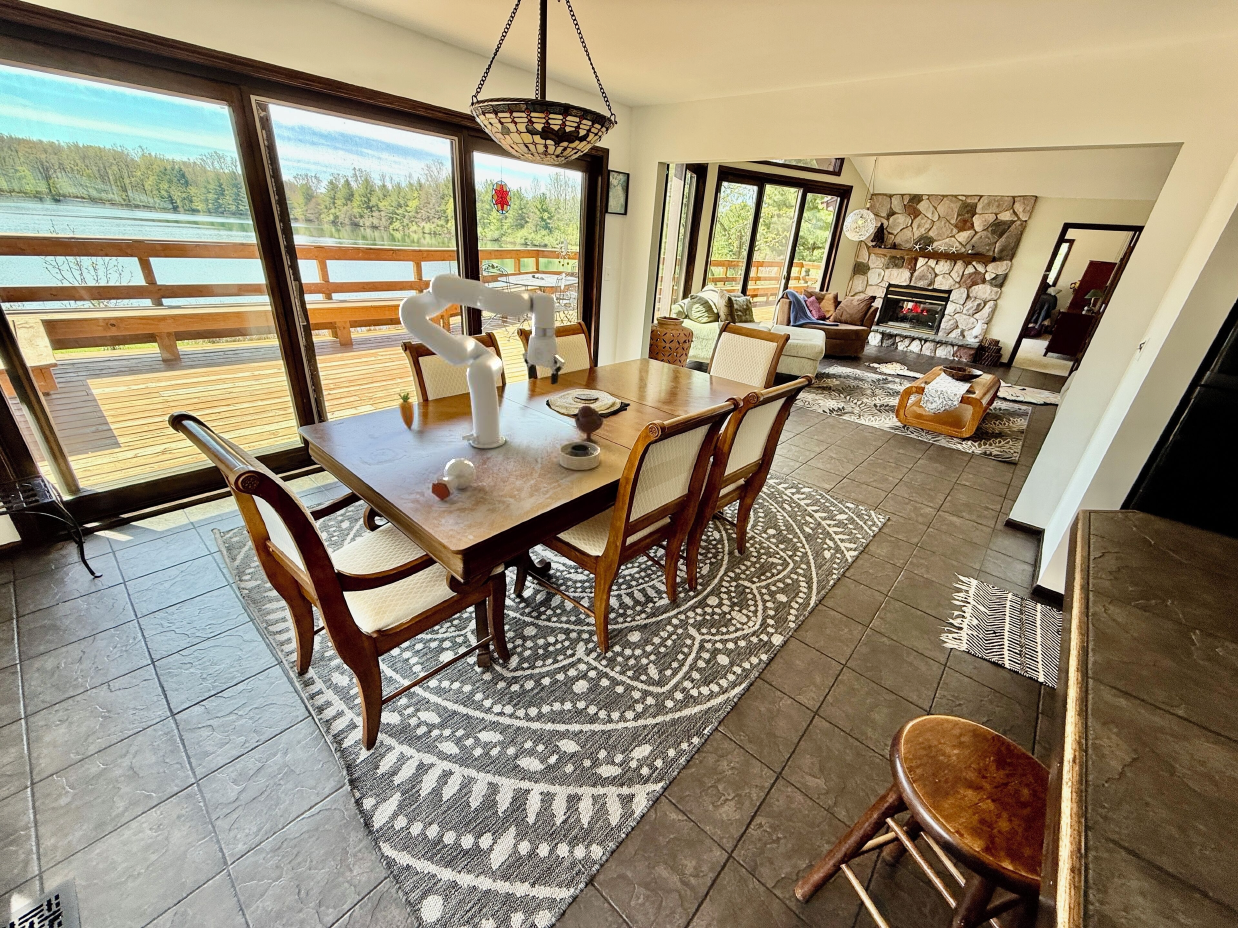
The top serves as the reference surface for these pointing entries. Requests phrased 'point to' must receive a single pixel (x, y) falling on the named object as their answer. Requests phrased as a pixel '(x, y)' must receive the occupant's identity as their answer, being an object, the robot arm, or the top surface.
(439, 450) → the top surface
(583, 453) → the black bowl
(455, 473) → the potion bottle
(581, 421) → the ice cream bowl
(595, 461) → the cream bowl
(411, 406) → the carrot
